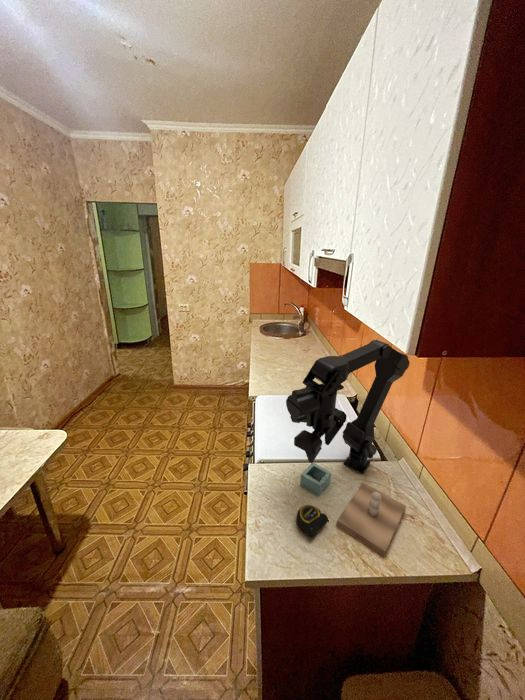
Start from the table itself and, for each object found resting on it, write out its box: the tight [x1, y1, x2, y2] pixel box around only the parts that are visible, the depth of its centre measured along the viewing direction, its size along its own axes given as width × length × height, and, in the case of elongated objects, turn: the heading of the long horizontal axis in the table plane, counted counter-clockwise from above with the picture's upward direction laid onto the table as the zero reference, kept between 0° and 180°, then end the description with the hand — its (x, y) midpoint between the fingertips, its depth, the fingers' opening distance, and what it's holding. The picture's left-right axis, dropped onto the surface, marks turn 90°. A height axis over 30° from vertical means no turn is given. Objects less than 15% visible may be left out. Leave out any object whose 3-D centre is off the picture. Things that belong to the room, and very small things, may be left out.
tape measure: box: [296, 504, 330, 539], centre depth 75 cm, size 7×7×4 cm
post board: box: [335, 481, 407, 558], centre depth 76 cm, size 16×12×9 cm
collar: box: [299, 462, 332, 497], centre depth 87 cm, size 6×6×4 cm
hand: (319, 452), depth 83 cm, fingers open, 9 cm apart
